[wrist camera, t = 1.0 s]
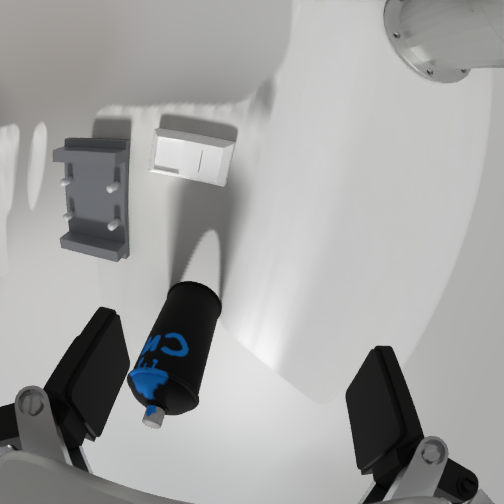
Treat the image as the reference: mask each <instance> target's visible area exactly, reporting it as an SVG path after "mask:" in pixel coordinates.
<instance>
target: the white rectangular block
mask: <svg viewBox="0 0 504 504" xmlns="http://www.w3.org/2000/svg"><path fill="white" fill-rule="evenodd" d="M235 143H236V142H233V141H229V140H224V139H219V138H214V137H209V136H204V135H199V134H193V133H187V132H182V131H175V130H169V129H162V128H157V129H154V135H153V142H152V149H151V156H150V164H149V171H150V172H156V173H161V174H166V175H171V176H176V177H181V178H186V179H190V180H195V181H200V182H204V183H209V184H213V185H218V186H222V187H225V185H226V183H227V179H228V174H229V170H230V165H231V161H232V156H233V152H234V147H235Z"/></svg>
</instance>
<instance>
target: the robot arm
mask: <svg viewBox="0 0 504 504" xmlns="http://www.w3.org/2000/svg"><path fill="white" fill-rule="evenodd" d="M384 24H385V29H386V32H387V35H388V38H389V40H390V42H391V44H392V46H393V47H394V49H395V51H396V52H397V54H398V55H399V56H400V57H401V59H402V60H403V61H404V62H405V63H406V64H407V65H408V66H409V67H410V68H411V69H412V70H414V71H415V72H416V73H418V74H419V75H421V76H423V77H425V78H426V79H429V80H431V81H434V82H439V83H453V82H458V81H460V80H462V79H463V78H465V77H466V76H467V75H468V73H469V72H470V70H471V68H501V67H502V68H503V67H504V0H389V1H388V3H387V5H386V7H385V12H384ZM394 35H395V36H396V37H395V36H394ZM427 72H428V73H427ZM129 367H130V360H129V356H128V352H127V347H126V343H125V339H124V334H123V330H122V325H121V320H120V316H119V315H117V314H116V311H115V310H113V309H109V308H105V307H99V308H98V310H97V311H96V312H95V314H94V315H93V317H92V318H91V320H90V321H89V322H88V324H87V325H86V327H85V328H84V330H83V331H82V333H81V334H80V335H79V336H77V337H76V338H75V339H74V341H73V342H72V344H71V345H70V347H69V348H68V350H67V351H66V353H65V354H64V356H63V357H62V359H61V360H60V362H59V364H58V365H57V367H56V369H55V370H54V372H53V373H52V375H51V377H50V378H49V380H48V381H47V383H46V385H45V387H44V388H43V389H41V388H40V387H38V386H27V387H25V388H23V389H22V390H20V391H19V393H18V394H17V396H16V398H15V403H12V404H9V405H5V406H1V407H0V504H193V503H188V502H183V501H178V500H173V499H169V498H165V497H161V496H156V495H153V494H149V493H145V492H142V491H139V490H135V489H132V488H129V487H126V486H123V485H120V484H117V483H114V482H112V481H109V480H106V479H103V478H101V477H98V476H95V475H93V472H92V470H91V468H90V466H89V463H88V461H87V458H86V456H85V453H84V450H83V448H82V444H83V441H84V439H85V438H86V439H88V440H91V441H93V442H94V441H95V438H96V437H99V436H100V435H101V434H102V431H103V429H104V426H105V424H106V421H107V419H108V416H109V414H110V412H111V409H112V407H113V404H114V402H115V400H116V397H117V395H118V393H119V390H120V388H121V386H122V384H123V381H124V379H125V377H126V375H127V372H128V370H129ZM346 403H347V408H348V413H349V419H350V424H351V431H352V437H353V443H354V449H355V456H356V463H357V467H358V469H360V470H361V474H362V475H366V474H373V478H374V481H373V482H372V484H371V485H370V487H369V488H368V490H367V491H366V493H365V494H364V496H363V497H362V498H361V500H360V501H359V503H358V504H494V503H493V502H492V501H491V499H490V498H489V497H488V496H487V495H486V494H485V493H484V492H483V490H482V489H479V490H478V479H477V477H476V475H475V474H474V473H473V472H472V471H470V470H468V469H466V468H465V467H463V466H461V465H460V464H458V463H456V462H454V461H453V460H451V459H450V458H448V448H447V445H446V444H445V442H444V441H443V440H442V439H440V438H439V437H435V436H429V437H425V438H424V435H423V431H422V428H421V425H420V422H419V419H418V415H417V413H416V409H415V406H414V404H413V401H412V398H411V395H410V392H409V389H408V387H407V384H406V381H405V379H404V376H403V374H402V371H401V368H400V366H399V363H398V361H397V358H396V356H395V353H394V351H393V349H392V347H391V346H376V347H375V348H374V349H372V350H371V351H370V352H369V354H368V356H367V357H366V359H365V361H364V363H363V364H362V366H361V368H360V369H359V371H358V373H357V374H356V376H355V378H354V379H353V381H352V383H351V384H350V386H349V387H348V389H347V391H346Z"/></svg>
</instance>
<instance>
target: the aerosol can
mask: <svg viewBox="0 0 504 504" xmlns="http://www.w3.org/2000/svg"><path fill="white" fill-rule="evenodd" d="M221 308H222V307H221V302H220V300H219V298H218V296H217V295H216V293H215V292H214V291H212V290H211V289H210V288H208V287H207V286H205V285H203V284H201V283H197V282H192V281H184V282H180V283H177V284H175V285H174V286H173V287H172V288H171V289H170V290H169V292H168V294H167V300H166V302H165V304H164V306H163V308H162V310H161V312H160V314H159V316H158V318H157V320H156V322H155V324H154V326H153V328H152V330H151V332H150V334H149V336H148V338H147V341H146V343H145V345H144V347H143V349H142V351H141V353H140V355H139V358H138V360H137V362H136V364H135V366H134V369H133V370H132V371H131V372H130V373H129V374H128V376H127V382H128V385H129V387H130V388H131V390H132V393H133V395H134V396H135V398H136V399H137V400H138V401H139V402H140V403H141V404H142V405H143V406H145V407H146V408H147V409H146V412H145V414H144V417H143V420H142V422H143V423H144V424H145V425H146V426H148V427H151V428H154V429H159V428H161V425H162V421H163V418H164V415H179V414H183V413H185V412H187V411H190V410H193V409H194V408H196V407H197V405H198V403H199V396H198V394H199V390H200V386H201V381H202V377H203V373H204V369H205V366H206V362H207V358H208V354H209V350H210V346H211V342H212V338H213V334H214V330H215V326H216V322H217V319H218V318H219V316H220V314H221Z"/></svg>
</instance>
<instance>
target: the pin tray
mask: <svg viewBox="0 0 504 504" xmlns="http://www.w3.org/2000/svg"><path fill="white" fill-rule="evenodd" d="M129 153H130V140H120V139H101V138H67V139H65V146H64V147H61V148H58V149H55V150H53V162H65V178H64V179H62V180H61V181H60V184H61V186H65V187H66V202H67V213H66V214H65V215H63V219H64V220H65V221H68V222H69V232H67V233H66V234H65V235H64V236H62V237H61V238H60V243H61V248H64V249H68V250H72V251H76V252H80V253H83V254H87V255H91V256H95V257H99V258H103V259H107V260H111V261H115V262H118V261H119V260H120V259H121V258H124V259H127V258H128V256H129V237H128V174H129Z"/></svg>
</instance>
